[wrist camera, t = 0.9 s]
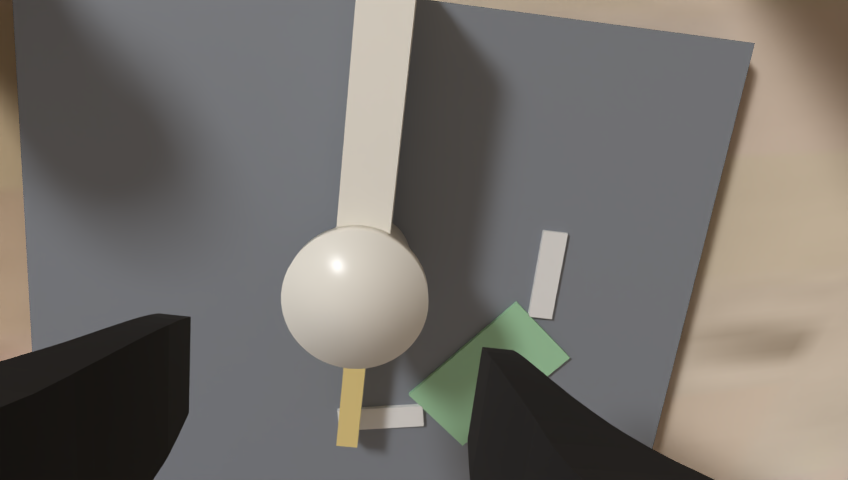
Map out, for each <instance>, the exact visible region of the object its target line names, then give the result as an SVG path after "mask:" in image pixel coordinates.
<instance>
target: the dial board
mask: <svg viewBox="0 0 848 480" xmlns="http://www.w3.org/2000/svg"><path fill="white" fill-rule="evenodd" d="M355 1H356V0H13V17H14V35H15V53H16V70H17V88H18V106H19V124H20V142H21V159H22V177H23V195H24V213H25V231H26V248H27V266H28V284H29V302H30V320H31V338H32V352H34V351H37V350H40V349H43V348H47V347H50V346H53V345H57V344H60V343H63V342H66V341H69V340H72V339H75V338H78V337H81V336H84V335H87V334H90V333H93V332H96V331H99V330H101V329H104V328H107V327H110V326H113V325H116V324H119V323H122V322H125V321H129V320H132V319H135V318H139V317H142V316H146V315H151V314H157V313H160V314H170V315H180V316H189V317H191V335H190V386H189V414H188V416H187V418H186V421H185V423H184V425H183V427H182V429H181V431H180V434H179V436H178V438H177V440H176V442H175V444H174V446H173V448H172V450H171V452H170V454H169V456H168V458H167V459H166V461H165V463H164V464H163V466H162V467H161V469H160V470H159V472H158V473H157V475H156V476H155V478H154V479H153V480H470V474H469V459H468V433H469V427H470V421H471V414H472V408H473V402H474V396H475V389H476V383H477V377H478V370H479V364H480V358H481V352H482V347H488V348H498V349H507V350H514V351H516V352H517V353H519V354H520V355H522V356H523V357H524V358H526V359H527V360H528V361H529V362H531V363H532V364H533V365H534V366H536V367H537V368H538V369H539V370H540V371H542V372H543V373H544V374H545V375H546V376H548V377H549V378H550V379H551V380H552V381H554V382H555V383H556V384H557V385H559V386H560V387H561V388H562V389H564V390H565V391H566V392H567V393H569V394H570V395H571V396H572V397H574V398H575V399H576V400H578V401H579V402H580V403H582V404H583V405H584V406H586V407H587V408H588V409H590V410H591V411H593V412H594V413H596V414H597V415H598V416H600V417H601V418H603V419H604V420H606V421H607V422H608V423H610V424H611V425H613V426H614V427H616V428H618V429H619V430H621V431H622V432H624V433H626V434H627V435H629V436H631V437H632V438H634V439H636V440H638V441H639V442H641V443H643V444H644V445H646V446H648V447H650V448H651V449H652V447H653V444H654V440H655V436H656V432H657V428H658V424H659V420H660V416H661V412H662V408H663V404H664V400H665V396H666V392H667V388H668V384H669V380H670V376H671V372H672V368H673V364H674V360H675V356H676V353H677V349H678V345H679V341H680V337H681V333H682V329H683V325H684V321H685V317H686V313H687V309H688V305H689V301H690V297H691V293H692V289H693V285H694V281H695V277H696V273H697V269H698V265H699V261H700V258H701V254H702V250H703V246H704V242H705V238H706V234H707V230H708V226H709V222H710V218H711V214H712V210H713V206H714V202H715V198H716V194H717V190H718V186H719V182H720V178H721V174H722V170H723V167H724V163H725V159H726V155H727V151H728V147H729V143H730V139H731V135H732V131H733V127H734V123H735V119H736V115H737V111H738V107H739V103H740V99H741V95H742V91H743V87H744V83H745V79H746V76H747V72H748V68H749V64H750V60H751V56H752V52H753V48H754V44H755V43H750V42H742V41H735V40H727V39H719V38H712V37H704V36H697V35H689V34H681V33H674V32H666V31H659V30H651V29H644V28H636V27H628V26H621V25H613V24H606V23H598V22H590V21H583V20H575V19H568V18H560V17H553V16H545V15H537V14H530V13H522V12H515V11H507V10H499V9H492V8H484V7H477V6H469V5H462V4H454V3H446V2H439V1H431V0H417V2H416V11H415V21H414V30H413V39H412V48H411V57H410V66H409V75H408V84H407V93H406V103H405V112H404V121H403V130H402V139H401V148H400V157H399V166H398V176H397V185H396V194H395V203H394V212H393V221H392V223H393V224H394V225H396V226H397V227H398V228H399V229H400V230H401V232H402V233H403V235H404V236H405V238H406V240H407V243H408V245H409V248H410V249H411V250H412V251H413V253H414V254H415V255H416V257H417V258H418V260H419V262H420V264H421V265H422V267H423V270H424V273H425V276H426V280H427V286H428V299H429V302H428V313H427V318H426V321H425V324H424V326H423V329H422V331H421V332H420V334H419V336H418V337H417V339H416V340H415V342H414V343H413V344H412V345H411V346H410V347H409V348H408V349H407V350H406V351H405V352H404V353H402V354H401V355H400V356H398V357H397V358H395V359H394V360H391V361H389V362H387V363H385V364H382V365H379V366H376V367H371V368H366V371H365V380H364V390H363V400H362V409H361V419H360V428H359V438H358V445H357V448H355V447H345V446H336V443H337V432H338V422H339V411H340V400H341V390H342V379H343V368H342V367H337V366H334V365H330V364H328V363H326V362H323V361H321V360H319V359H317V358H316V357H314V356H313V355H311V354H310V353H308V352H307V351H306V350H305V349H304V348H303V347H302V346H301V345H300V344H299V343H298V342H297V341H296V340H295V338H294V337H293V335H292V334H291V332H290V331H289V329H288V327H287V324H286V322H285V319H284V316H283V312H282V306H281V290H282V284H283V281H284V277H285V274H286V272H287V270H288V268H289V266H290V265H291V263H292V261H293V260H294V258H295V257H296V255H297V254H298V253H299V251H300V250H301V249H302V248H303V247H304V246H305V245H306V244H307V243H308V242H309V241H310V240H312V239H313V238H314V237H316V236H317V235H319V234H321V233H323V232H325V231H327V230H330V229H333V228H335V227H336V226H337V214H338V202H339V191H340V179H341V167H342V155H343V143H344V132H345V120H346V108H347V96H348V84H349V72H350V61H351V49H352V37H353V25H354V13H355Z"/></svg>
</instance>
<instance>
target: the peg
mask: <svg viewBox="0 0 848 480" xmlns="http://www.w3.org/2000/svg"><path fill="white" fill-rule="evenodd" d="M416 2H417V0H356V1H355V13H354V25H353V37H352V49H351V61H350V72H349V84H348V96H347V108H346V120H345V132H344V143H343V155H342V167H341V179H340V191H339V202H338V214H337V226H336V227H335V228H333V229H330V230H327V231H325V232H323V233H321V234H319V235H317V236H316V237H314V238H313V239H312V240H310V241H309V242H308V243H307V244H306V245H305V246H304V247H303V248H302V249H301V250H300V251H299V253H298V254H297V255H296V257H295V258H294V260H293V261H292V263H291V265H290V266H289V268H288V270H287V272H286V274H285V277H284V281H283V284H282V290H281V306H282V312H283V316H284V319H285V322H286V324H287V327H288V329H289V331H290V332H291V334H292V335H293V337H294V338H295V340H296V341H297V342H298V343H299V344H300V345H301V346H302V347H303V348H304V349H305V350H306V351H307V352H308V353H310V354H311V355H313V356H314V357H316V358H317V359H319V360H321V361H323V362H326V363H328V364H330V365H334V366H337V367H342V368H343V379H342V390H341V400H340V411H339V422H338V432H337V443H336V446H345V447H355V448H357V445H358V438H359V428H360V419H361V409H362V400H363V390H364V380H365V371H366V368H371V367H376V366H379V365H382V364H385V363H387V362H389V361H391V360H394V359H395V358H397V357H398V356H400V355H401V354H402V353H404V352H405V351H406V350H407V349H408V348H409V347H410V346H411V345H412V344H413V343H414V342H415V340H416V339H417V337H418V336H419V334H420V332H421V331H422V329H423V326H424V324H425V321H426V318H427V313H428V302H429V299H428V286H427V280H426V276H425V273H424V270H423V267H422V265H421V264H420V262H419V260H418V258H417V257H416V255H415V254H414V253H413V251H412V250H411V249H410V248H409V245H408V243H407V240H406V238H405V236H404V235H403V233H402V232H401V230H400V229H399V228H398V227H397V226H396V225H394V224H393V223H392V221H393V212H394V203H395V194H396V185H397V176H398V166H399V157H400V148H401V139H402V130H403V121H404V112H405V103H406V93H407V84H408V75H409V66H410V57H411V48H412V39H413V30H414V21H415V11H416Z"/></svg>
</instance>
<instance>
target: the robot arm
mask: <svg viewBox="0 0 848 480" xmlns="http://www.w3.org/2000/svg"><path fill="white" fill-rule="evenodd" d="M190 335H191V317H189V316H180V315H170V314H160V313H157V314H151V315H146V316H142V317H139V318H135V319H132V320H129V321H125V322H122V323H119V324H116V325H113V326H110V327H107V328H104V329H101V330H99V331H96V332H93V333H90V334H87V335H84V336H81V337H78V338H75V339H72V340H69V341H66V342H63V343H60V344H57V345H53V346H50V347H47V348H43V349H40V350H37V351H34V352H30V353H27V354H24V355H21V356H17V357H14V358H11V359H7V360H4V361H0V480H153V479H154V478H155V476H156V475H157V473H158V472H159V470H160V469H161V467H162V466H163V464H164V463H165V461H166V459H167V458H168V456H169V454H170V452H171V450H172V448H173V446H174V444H175V442H176V440H177V438H178V436H179V434H180V431H181V429H182V427H183V425H184V423H185V421H186V418H187V416H188V414H189V386H190ZM468 459H469V474H470V480H714V479H712V478H709V477H707V476H705V475H703V474H701V473H699V472H697V471H695V470H693V469H690V468H688V467H686V466H684V465H682V464H680V463H678V462H676V461H674V460H672V459H670V458H668V457H666V456H664V455H662V454H660V453H658V452H657V451H655V450H653V449H651V448H650V447H648V446H646V445H644V444H643V443H641V442H639V441H638V440H636V439H634V438H632V437H631V436H629V435H627V434H626V433H624V432H622V431H621V430H619V429H618V428H616V427H614V426H613V425H611V424H610V423H608V422H607V421H606V420H604V419H603V418H601V417H600V416H598V415H597V414H596V413H594V412H593V411H591V410H590V409H588V408H587V407H586V406H584V405H583V404H582V403H580V402H579V401H578V400H576V399H575V398H574V397H572V396H571V395H570V394H569V393H567V392H566V391H565V390H564V389H562V388H561V387H560V386H559V385H557V384H556V383H555V382H554V381H552V380H551V379H550V378H549V377H548V376H546V375H545V374H544V373H543V372H542V371H540V370H539V369H538V368H537V367H536V366H534V365H533V364H532V363H531V362H529V361H528V360H527V359H526V358H524V357H523V356H522V355H520V354H519V353H517V352H516V351H514V350H507V349H498V348H488V347H482V352H481V358H480V364H479V370H478V377H477V383H476V389H475V396H474V402H473V408H472V414H471V421H470V427H469V433H468Z"/></svg>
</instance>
